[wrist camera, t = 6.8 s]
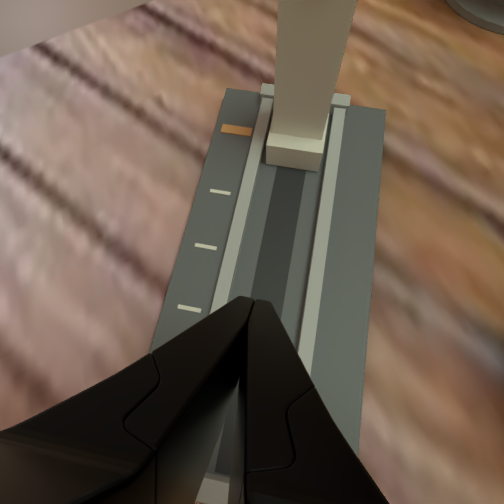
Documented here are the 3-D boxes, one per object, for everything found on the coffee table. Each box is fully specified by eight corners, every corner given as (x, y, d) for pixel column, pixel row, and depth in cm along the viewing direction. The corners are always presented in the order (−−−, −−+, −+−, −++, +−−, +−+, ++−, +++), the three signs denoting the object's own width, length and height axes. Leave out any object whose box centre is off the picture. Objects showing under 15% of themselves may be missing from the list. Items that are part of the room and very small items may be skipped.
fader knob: (317, 171, 23) (374, -34, 12) (265, 163, 24) (271, -45, 12) (326, 114, 25) (384, -115, 14) (278, 107, 26) (293, -122, 14)
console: (345, 525, 18) (356, 543, 15) (122, 470, 19) (104, 481, 17) (380, 121, 26) (390, 99, 24) (228, 100, 28) (225, 77, 25)
